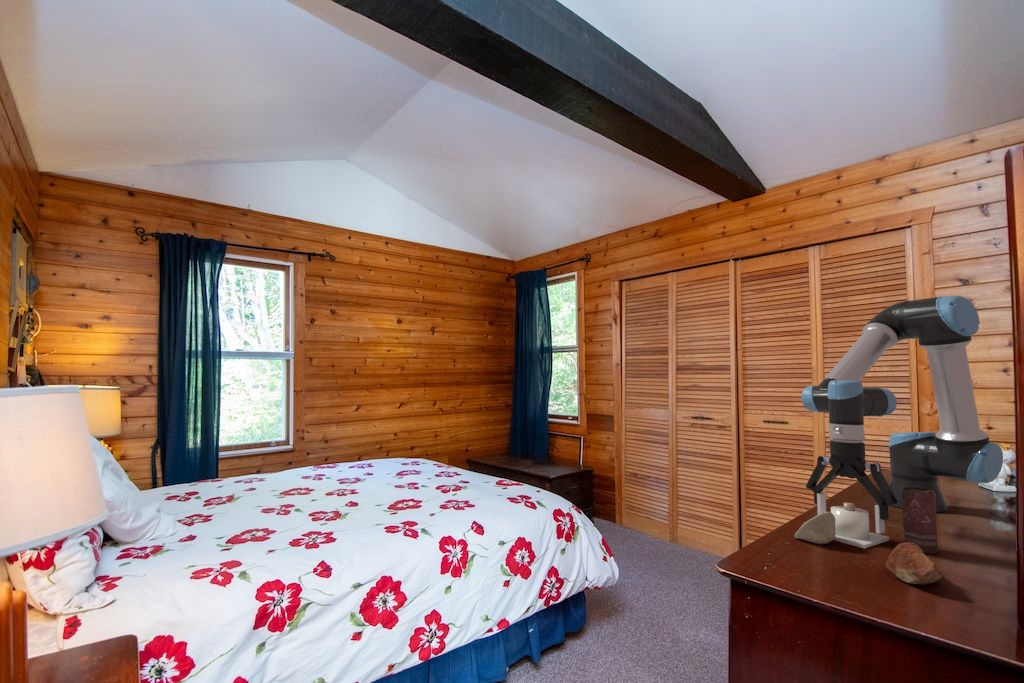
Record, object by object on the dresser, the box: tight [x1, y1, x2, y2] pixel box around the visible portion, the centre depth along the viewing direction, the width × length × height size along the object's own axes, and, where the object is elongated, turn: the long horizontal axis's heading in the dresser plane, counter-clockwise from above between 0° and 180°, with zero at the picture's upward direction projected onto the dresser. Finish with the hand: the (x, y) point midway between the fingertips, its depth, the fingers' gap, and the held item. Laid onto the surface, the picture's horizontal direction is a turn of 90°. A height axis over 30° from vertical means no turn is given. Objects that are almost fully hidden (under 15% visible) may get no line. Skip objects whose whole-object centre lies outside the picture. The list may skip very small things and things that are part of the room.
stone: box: [794, 511, 836, 545], centre depth 123 cm, size 10×7×10 cm
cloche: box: [830, 501, 870, 539], centre depth 126 cm, size 8×8×8 cm
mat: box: [833, 531, 890, 549], centre depth 126 cm, size 12×12×1 cm
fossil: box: [885, 542, 943, 585], centre depth 100 cm, size 13×8×10 cm
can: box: [902, 487, 939, 555], centre depth 118 cm, size 6×6×14 cm
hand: (849, 525), depth 126 cm, fingers open, 13 cm apart
